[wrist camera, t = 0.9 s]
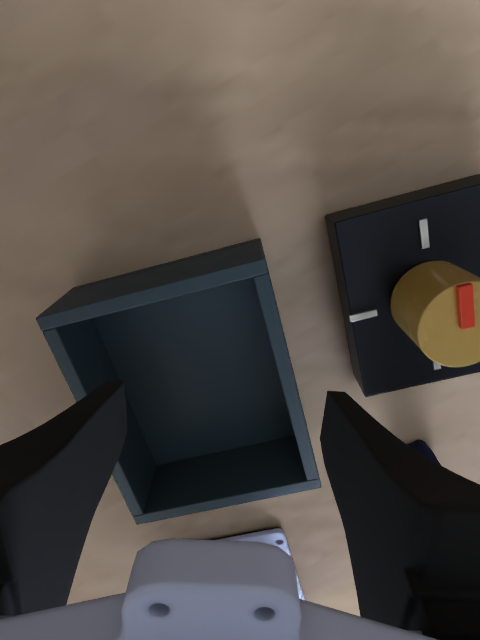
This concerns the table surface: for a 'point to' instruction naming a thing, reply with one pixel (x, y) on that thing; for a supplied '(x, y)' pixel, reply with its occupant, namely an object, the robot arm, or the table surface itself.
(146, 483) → the dark teal open box
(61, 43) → the table surface
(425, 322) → the tap knob
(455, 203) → the block
